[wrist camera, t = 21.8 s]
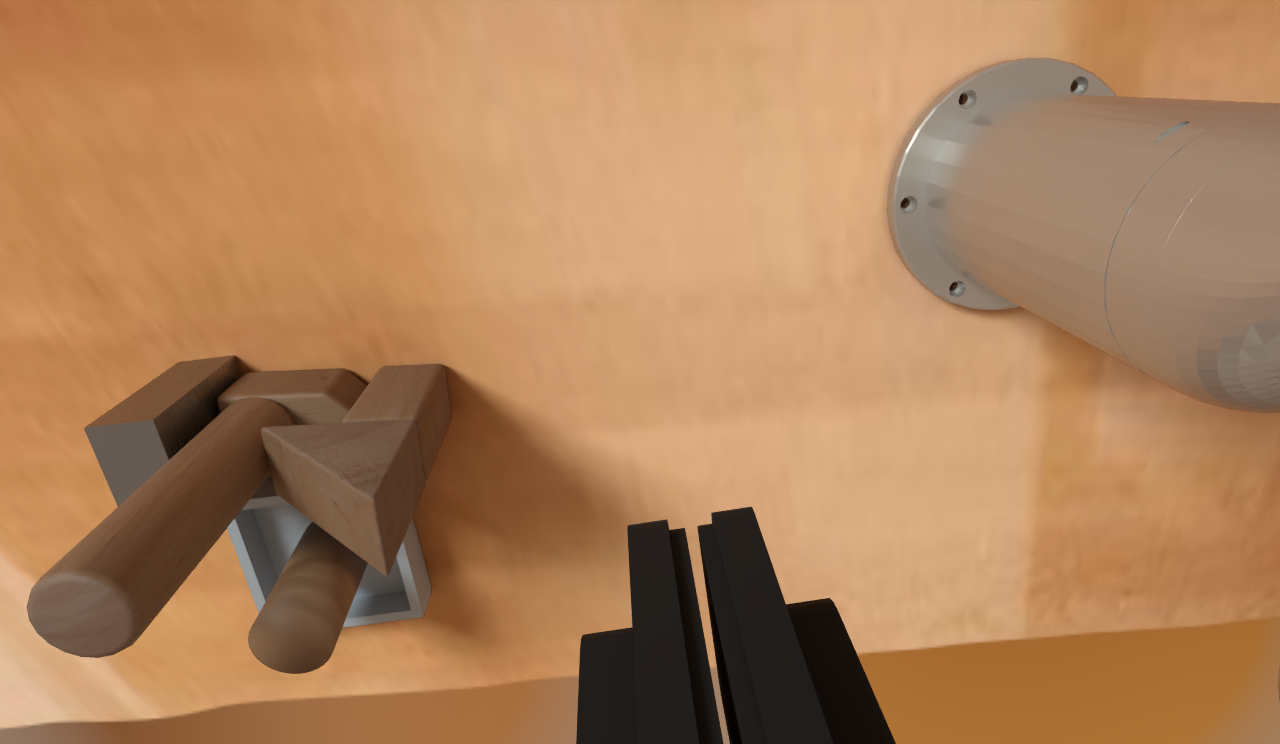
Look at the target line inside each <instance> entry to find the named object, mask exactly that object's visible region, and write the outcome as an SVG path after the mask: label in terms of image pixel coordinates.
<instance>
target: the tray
mask: <svg viewBox="0 0 1280 744" xmlns="http://www.w3.org/2000/svg"><path fill="white" fill-rule="evenodd" d="M312 522H313V521H312V520H310V519H309V518H308V517H306V516H305V515H304V514H302V513H301V512H300V511H298V510H297V509H296V508H294V507H293V506H292V505H290V504H289V503H288V502H286V501H285V500H284V499H282V498H281V497H280V496H278V495H277V494H276V493H275V489H274V485H273V481H272V477H271V476H268V478H267V479H266V480H265V481H264V483H263V484H262V485H261V486H260V488H259V489H258V490H257V491H256V493H255V494H254V495H253V496H252V498H251V499H250V500H249V501H248V503H247V504H246V505H245V506H244V508H243V509H242V510H241V511H240V513H239V514H238V515H237V516H236V518H235V519H234V520H233V521H232V523H231V524H230V525H229V526H228V527H227V529H228V532H229V535H230V537H231V540H232V543H233V545H234V548H235V551H236V553H237V556H238V559H239V562H240V564H241V567H242V570H243V572H244V575H245V578H246V580H247V583H248V586H249V588H250V591H251V594H252V596H253V599H254V602H255V604H256V607H257V610H258V612H259V613H260V611H261V609H262V607H263V605H264V604H265V602H266V600H267V598H268V596H269V595H270V593H271V591H272V589H273V587H274V586H275V584H276V582H277V580H278V578H279V577H280V575H281V573H282V571H283V569H284V568H285V566H286V564H287V562H288V560H289V559H290V557H291V555H292V553H293V551H294V549H295V548H296V546H297V544H298V542H299V540H300V539H301V537H302V535H303V533H304V531H305V530H306V528H307V527H308V525H309V524H311V523H312ZM431 592H432V588H431V584H430V580H429V576H428V572H427V569H426V565H425V561H424V557H423V553H422V549H421V546H420V542H419V538H418V534H417V530H416V526H415V523H414V519H413V517H412V520H411V522H410V525H409V527H408V529H407V532H406V534H405V537H404V539H403V542H402V544H401V547H400V549H399V551H398V554H397V556H396V559H395V561H394V564H393V566H392V569H391V571H390V573H389V575H388V576H385V575H383V574H382V573H381V572H379V571H378V570H377V569H375V568H374V567H373V566H371V565H370V564H369V563H368V564H367V567H366V569H365V572H364V574H363V577H362V579H361V582H360V584H359V587H358V589H357V592H356V595H355V597H354V600H353V602H352V605H351V607H350V610H349V612H348V615H347V617H346V620H345V622H344V625H343V627H351V626H359V625H367V624H375V623H383V622H391V621H399V620H407V619H414V618H422V617H424V615H425V611H426V608H427V605H428V602H429V599H430V595H431ZM343 627H342V628H343Z"/></svg>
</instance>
